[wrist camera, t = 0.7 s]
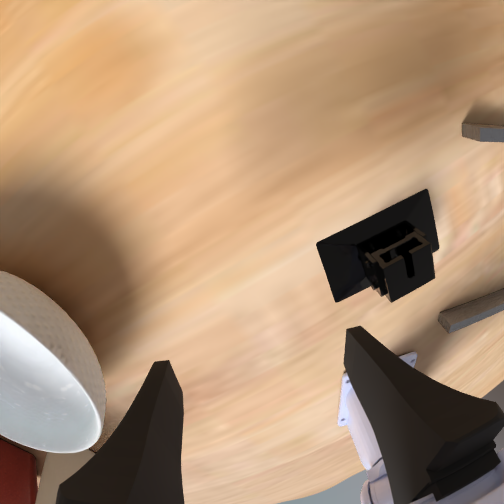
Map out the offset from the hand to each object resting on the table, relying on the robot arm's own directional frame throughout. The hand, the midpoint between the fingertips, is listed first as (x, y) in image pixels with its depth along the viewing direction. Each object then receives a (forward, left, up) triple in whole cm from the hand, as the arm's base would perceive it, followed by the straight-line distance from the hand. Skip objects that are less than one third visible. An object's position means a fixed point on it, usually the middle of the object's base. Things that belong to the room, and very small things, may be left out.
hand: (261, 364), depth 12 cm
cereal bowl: (-4, +19, -10) cm, 21 cm away
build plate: (-1, -10, -10) cm, 14 cm away
